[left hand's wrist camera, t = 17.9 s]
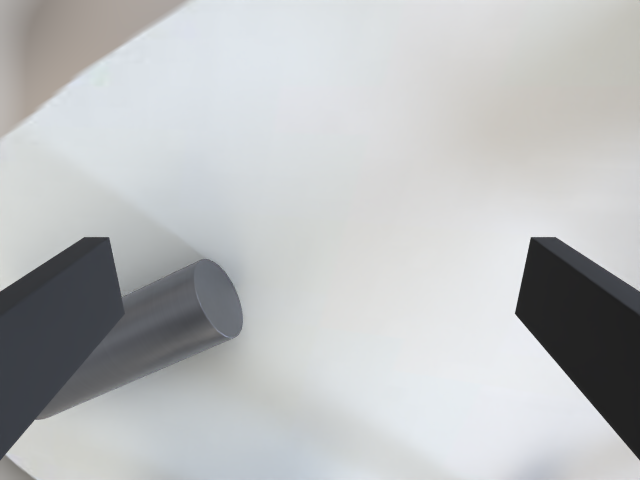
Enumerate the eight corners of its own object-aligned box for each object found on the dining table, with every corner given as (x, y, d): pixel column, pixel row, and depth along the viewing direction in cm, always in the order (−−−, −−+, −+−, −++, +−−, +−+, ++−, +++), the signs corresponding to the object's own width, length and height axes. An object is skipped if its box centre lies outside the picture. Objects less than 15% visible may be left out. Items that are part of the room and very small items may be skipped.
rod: (209, 246, 44) (183, 282, 36) (248, 308, 47) (232, 355, 39) (38, 328, 48) (-21, 377, 40) (83, 381, 51) (37, 437, 43)
